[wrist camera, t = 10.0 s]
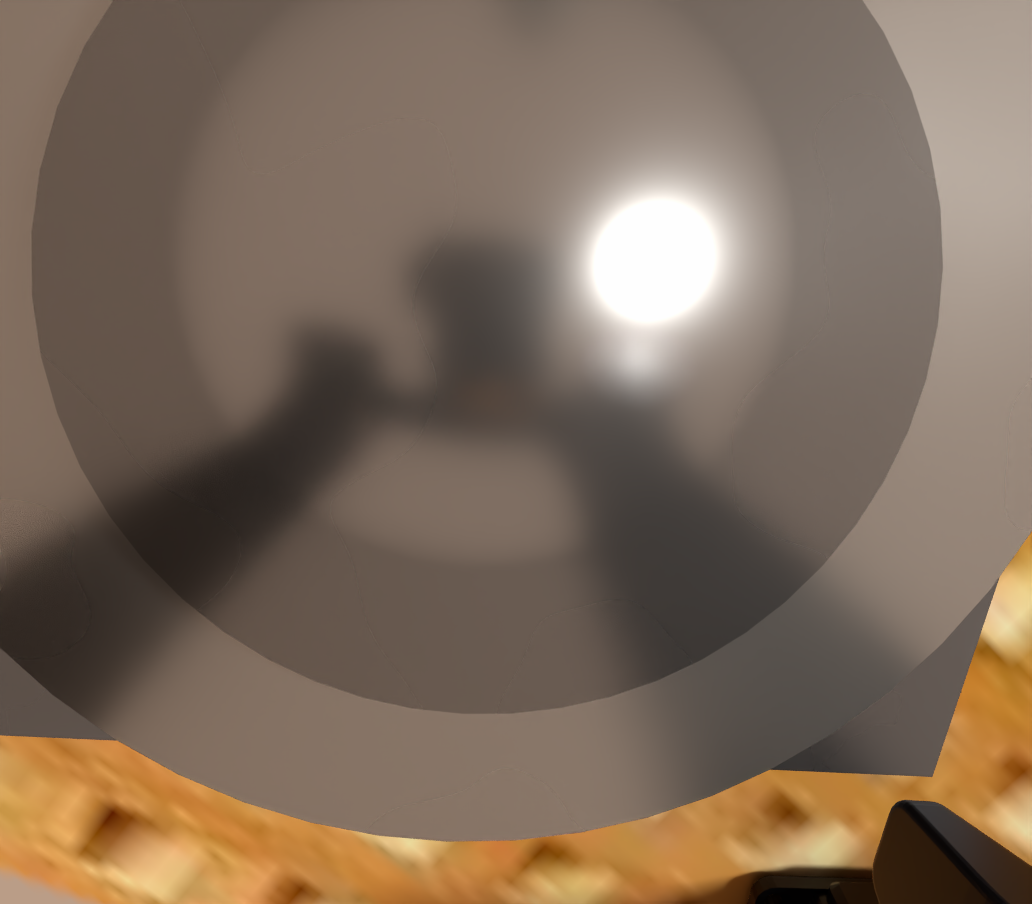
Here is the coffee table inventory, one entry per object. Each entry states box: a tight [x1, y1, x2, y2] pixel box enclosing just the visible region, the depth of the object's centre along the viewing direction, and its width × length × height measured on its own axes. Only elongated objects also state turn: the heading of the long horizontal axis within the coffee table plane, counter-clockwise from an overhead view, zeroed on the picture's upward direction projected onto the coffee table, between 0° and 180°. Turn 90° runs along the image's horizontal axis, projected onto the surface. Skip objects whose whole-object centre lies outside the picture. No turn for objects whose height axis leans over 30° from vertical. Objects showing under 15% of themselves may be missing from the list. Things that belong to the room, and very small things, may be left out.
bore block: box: [0, 576, 1000, 777], centre depth 16 cm, size 22×22×4 cm
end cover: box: [0, 0, 1032, 841], centre depth 7 cm, size 6×6×7 cm
